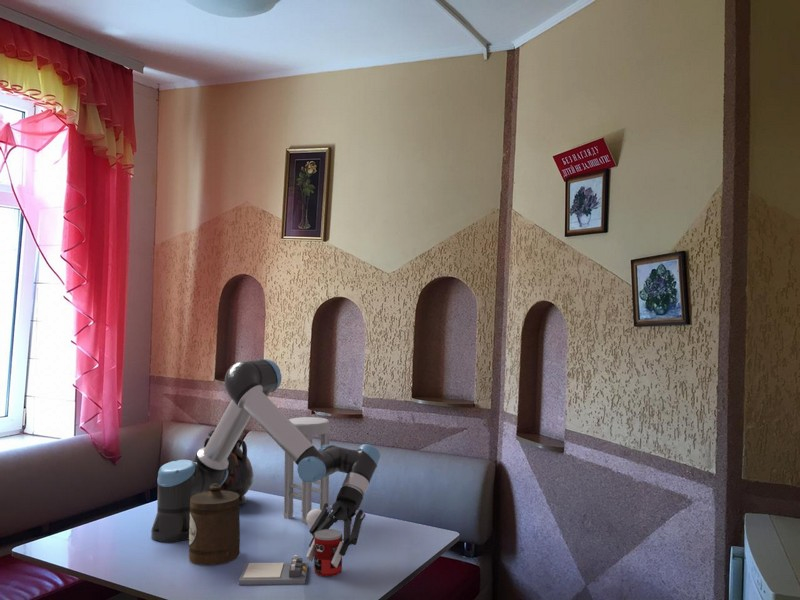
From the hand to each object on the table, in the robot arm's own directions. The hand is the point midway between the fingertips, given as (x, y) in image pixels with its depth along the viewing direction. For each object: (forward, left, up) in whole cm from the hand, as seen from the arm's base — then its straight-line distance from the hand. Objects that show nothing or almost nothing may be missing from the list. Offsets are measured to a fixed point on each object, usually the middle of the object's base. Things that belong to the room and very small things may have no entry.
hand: (321, 562), depth 186 cm
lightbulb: (-3, +26, -4) cm, 26 cm away
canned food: (+2, +3, -4) cm, 5 cm away
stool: (-8, +53, -4) cm, 54 cm away
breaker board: (-13, +1, -4) cm, 14 cm away
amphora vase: (-41, +69, -4) cm, 80 cm away
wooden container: (-33, +16, -4) cm, 37 cm away
